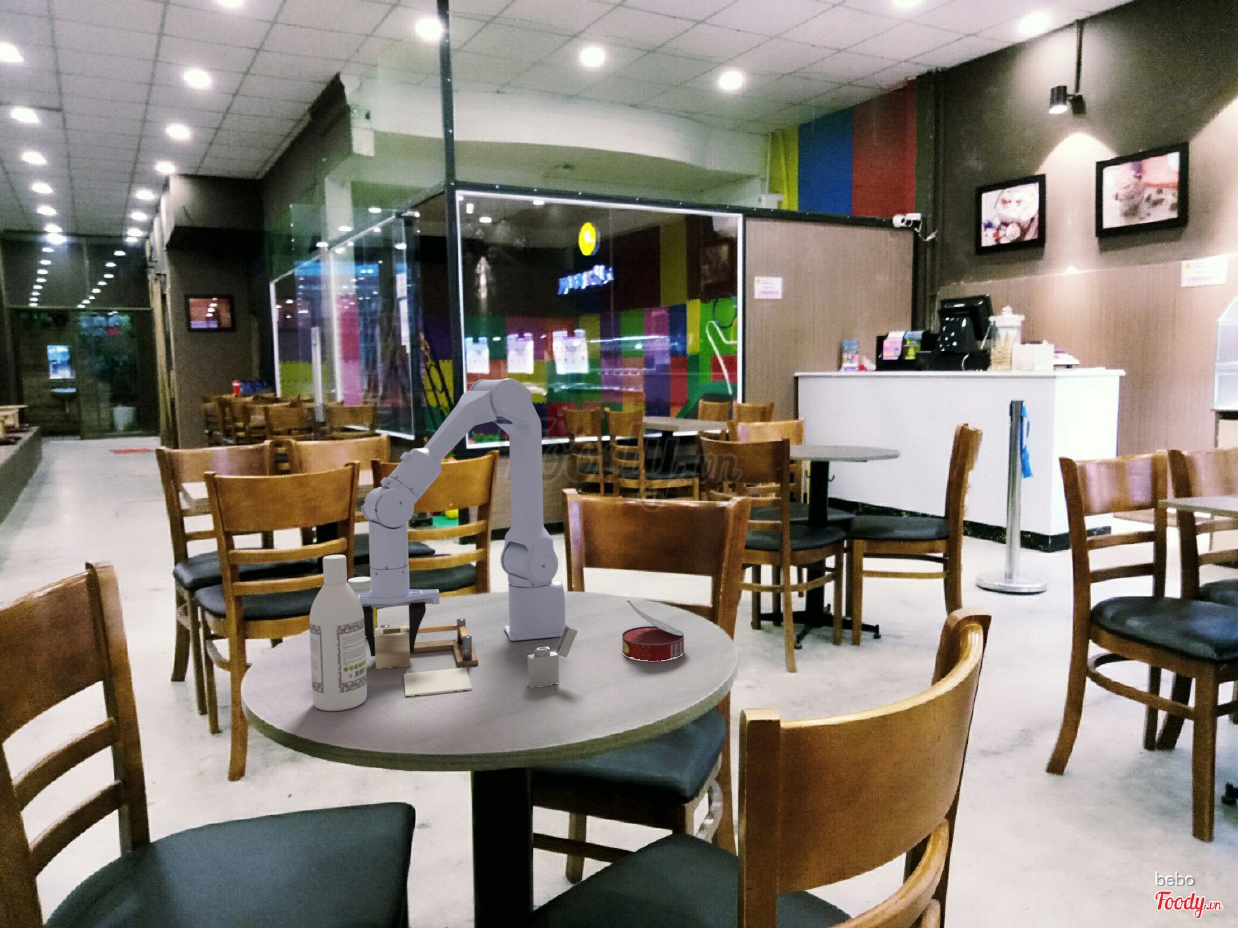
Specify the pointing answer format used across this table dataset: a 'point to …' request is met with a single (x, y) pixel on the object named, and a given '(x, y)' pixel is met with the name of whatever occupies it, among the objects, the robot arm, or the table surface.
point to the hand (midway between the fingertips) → (392, 652)
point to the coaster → (436, 682)
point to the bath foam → (337, 641)
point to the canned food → (652, 640)
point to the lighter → (549, 660)
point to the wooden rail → (449, 643)
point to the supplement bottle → (363, 591)
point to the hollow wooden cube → (392, 647)
